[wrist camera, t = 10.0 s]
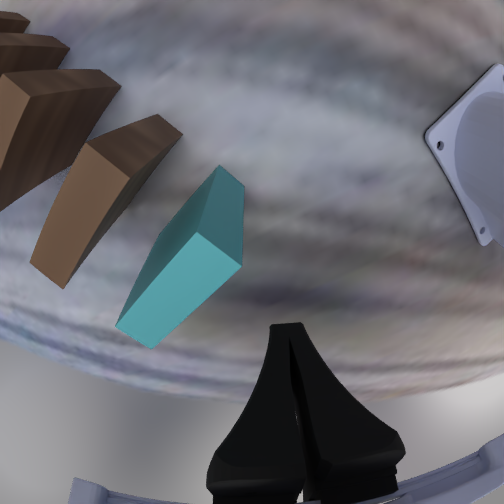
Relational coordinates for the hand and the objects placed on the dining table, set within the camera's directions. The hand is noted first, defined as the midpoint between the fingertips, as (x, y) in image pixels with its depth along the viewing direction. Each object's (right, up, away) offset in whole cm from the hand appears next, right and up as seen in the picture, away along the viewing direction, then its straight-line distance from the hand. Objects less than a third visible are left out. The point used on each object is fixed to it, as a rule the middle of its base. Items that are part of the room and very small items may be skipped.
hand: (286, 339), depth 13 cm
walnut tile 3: (-10, +10, -1) cm, 14 cm away
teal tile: (-4, +6, +2) cm, 8 cm away
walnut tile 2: (-7, +8, +1) cm, 11 cm away
